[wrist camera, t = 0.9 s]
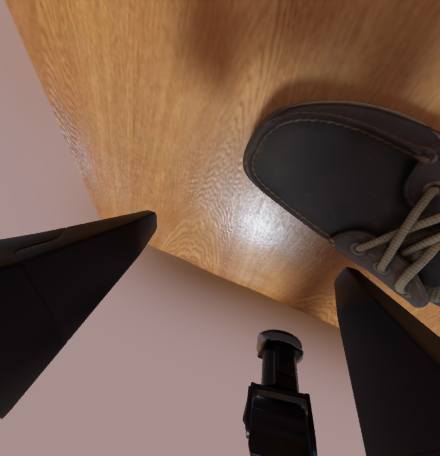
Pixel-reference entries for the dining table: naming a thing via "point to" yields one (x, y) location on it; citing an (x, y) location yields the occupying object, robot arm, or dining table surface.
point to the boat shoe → (358, 186)
